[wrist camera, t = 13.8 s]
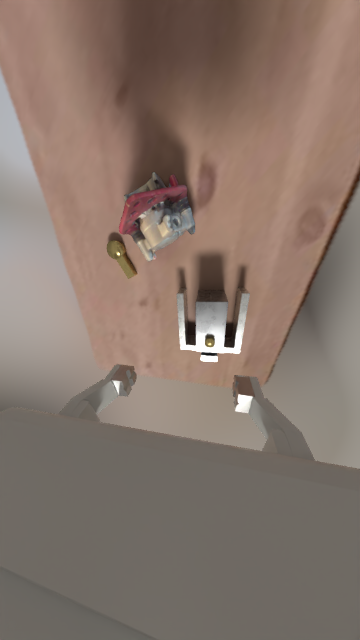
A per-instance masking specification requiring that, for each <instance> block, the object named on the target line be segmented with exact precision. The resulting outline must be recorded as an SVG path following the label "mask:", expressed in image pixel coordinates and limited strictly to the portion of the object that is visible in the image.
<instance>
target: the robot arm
mask: <svg viewBox="0 0 360 640" xmlns="http://www.w3.org/2000/svg"><path fill="white" fill-rule="evenodd" d="M135 381H136V373H135V372H134V366H128V365H119V364H116V365H115V366H114V367H113V369H112V370H111V371H110V373H109V374H108V375H107V376H106V378H105V379H104V380H101V381H99V382H98V383H96V384H94V385H93V386H91V387H89V388H88V389H86V390H85V391H83V392H81V393H79V394H78V395H76V396H75V397H73V398H72V399H71V400H70V401H69V402H68V403H67V405H66V406H65V407H64V408H63V409H62V410H61V411H60V412H59V414H52V413H46V412H41V411H36V410H30V409H25V408H20V407H12V408H9V409H7V410H4V411H2V412H0V640H360V469H357V468H352V467H347V466H341V465H335V464H329V463H324V462H319V461H315V459H314V457H313V455H312V453H311V451H310V449H309V447H308V445H307V443H306V441H305V439H304V437H303V434H302V433H301V432H300V431H299V430H298V429H297V428H296V427H295V426H294V425H293V424H292V423H291V422H290V421H289V420H288V419H287V418H286V417H285V416H284V415H283V414H282V413H281V412H280V411H279V410H278V409H277V408H276V407H275V406H274V405H273V404H272V403H271V402H270V401H269V400H268V399H266V398H264V396H263V393H262V390H261V387H260V384H259V382H258V379H257V377H251V376H240V375H234V382H233V386H232V390H233V396H234V397H235V399H234V404H235V410H236V411H238V412H244V413H249V415H250V417H251V418H252V420H253V421H254V422H255V424H256V425H257V427H258V428H259V429H260V431H261V432H262V434H263V435H264V436H265V438H266V439H267V441H266V443H265V446H264V448H263V451H258V450H252V449H247V448H241V447H235V446H230V445H224V444H219V443H213V442H208V441H202V440H197V439H191V438H186V437H180V436H175V435H169V434H164V433H158V432H152V431H147V430H141V429H135V428H130V427H124V426H118V425H114V424H108V423H102V422H100V419H99V417H98V416H97V414H98V413H99V412H100V411H102V410H103V409H104V408H105V407H106V406H107V405H109V404H110V403H111V402H112V401H113V400H114V399H115V398H117V397H118V395H119V396H128V395H129V393H130V391H131V386H132V385H134V383H135Z"/></svg>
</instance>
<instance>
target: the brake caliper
mask: <svg viewBox="0 0 360 640" xmlns="http://www.w3.org/2000/svg"><path fill="white" fill-rule="evenodd" d="M124 199H125V207H124V211H123V215H122V217H121V222H120V226H119V232H120V233H121V234H129V235H131V236H132V237H133V239H134V241H135V242H136V244H137V245H138V247H139V248H140V250H141V252H142V253H143V255H144V257H145V258H146V260H147V261H152V260H153V259H156V255H155V253H154V252H155V251H157V250H159V249H162V248H164V247H166V246H167V245H169V244H171V243H172V242H174V241H175V240H177V239H178V237H179V236H181V235H182V234H183V233H184V232H185V231H186V230H187V231H188V232H189V233H190V234H193V233H194V232H195V222H194V219H193V215H192V210H191V207H190V205H189V202H188V198H187V186H186V185H179V184H178V181H177V179H176V176H175V175H174V174H172V175H171V176H170V178H169V187H166V186H165V185H164V183H163V181H162V180H161V178H160V177H159V176H158V175H157V174H156V173H155V172H153V173H152V177H151V178H150V179H149V180H148V182H147V183H146V184H145V185H143V186H142V187H140V188H138V189H137V190H135V191H134V192H131V193H129V194H126V195H124Z"/></svg>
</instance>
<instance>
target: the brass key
mask: <svg viewBox="0 0 360 640" xmlns="http://www.w3.org/2000/svg"><path fill="white" fill-rule="evenodd" d="M107 252H108V254H109V255H110V257H112V258H113V259H116V260H117V262H118V263H119V265H120V266H121V268H122V269H123V271H124V273H125V274H126V276H127V277H128V279H129V278H131V277H133V276H135V275H136V274H137V272H136V271H135V269H134V267H133V266H132V264H131V263H130V261H129V259H128V258H127V256H126V248H125V246H124V244H123V243H122V242H120V241H110V242H109V243H108V244H107Z"/></svg>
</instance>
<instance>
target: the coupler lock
mask: <svg viewBox="0 0 360 640" xmlns="http://www.w3.org/2000/svg"><path fill="white" fill-rule="evenodd" d="M227 308H228V300H227V297H226V294H225V291H224V290H199V291H198V295H197V299H196V351H201V352H214V353H223V348H224V338H225V328H226V318H227Z"/></svg>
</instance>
